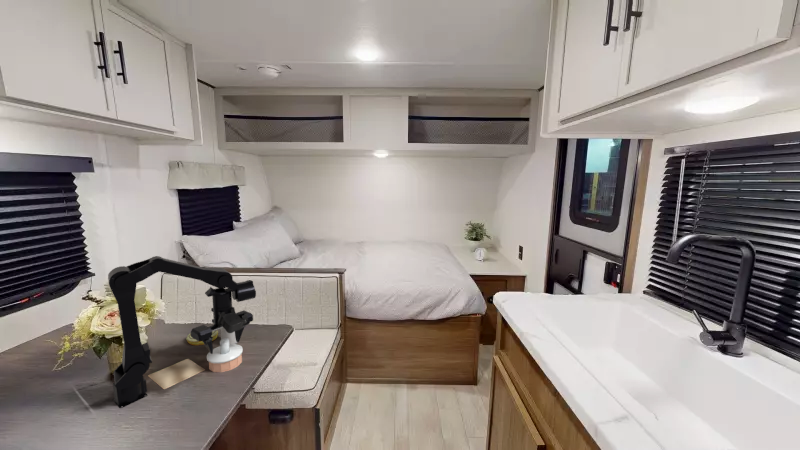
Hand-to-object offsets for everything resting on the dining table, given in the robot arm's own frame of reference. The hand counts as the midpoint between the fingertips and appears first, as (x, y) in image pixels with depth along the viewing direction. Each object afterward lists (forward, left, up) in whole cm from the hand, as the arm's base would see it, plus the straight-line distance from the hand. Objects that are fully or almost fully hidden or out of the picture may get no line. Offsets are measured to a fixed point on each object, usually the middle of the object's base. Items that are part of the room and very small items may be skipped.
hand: (225, 347), depth 109 cm
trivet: (-12, +8, -7) cm, 16 cm away
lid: (0, 0, -3) cm, 3 cm away
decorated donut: (+4, +24, -7) cm, 25 cm away
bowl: (0, 0, -7) cm, 7 cm away
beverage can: (+9, +13, -7) cm, 17 cm away
